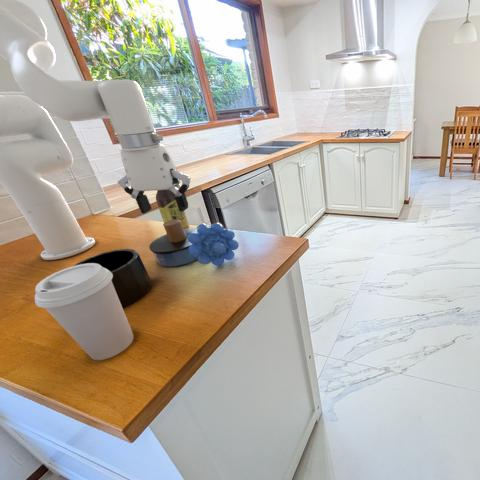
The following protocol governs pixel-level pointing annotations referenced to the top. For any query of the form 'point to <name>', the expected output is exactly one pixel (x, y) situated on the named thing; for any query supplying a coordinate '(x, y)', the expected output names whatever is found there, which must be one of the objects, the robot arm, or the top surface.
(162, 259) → the blue round dish
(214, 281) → the top surface
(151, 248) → the lid
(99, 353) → the coffee cup
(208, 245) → the blue flower toy
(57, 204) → the robot arm
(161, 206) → the sauce bottle
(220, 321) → the top surface
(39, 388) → the top surface
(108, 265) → the pot
